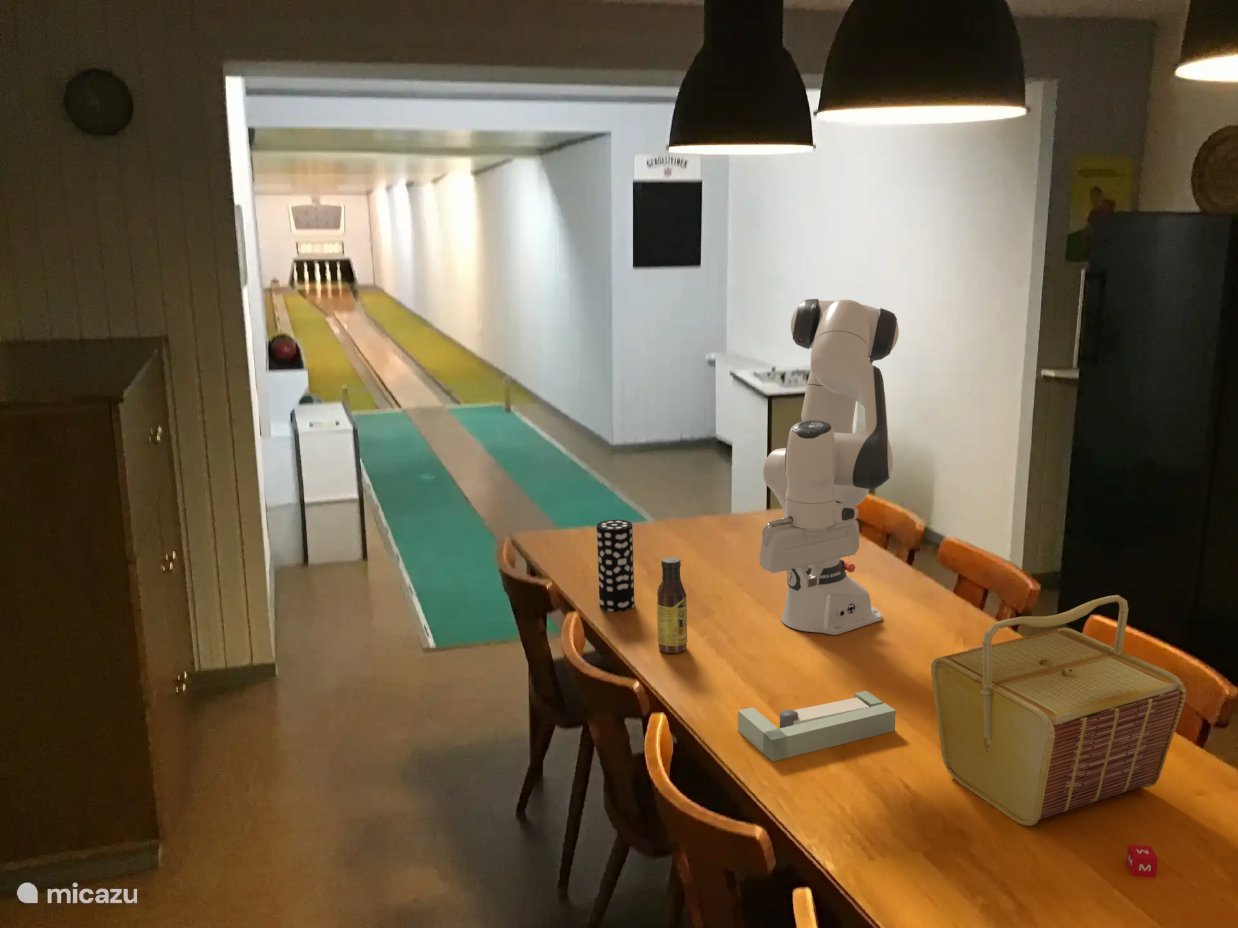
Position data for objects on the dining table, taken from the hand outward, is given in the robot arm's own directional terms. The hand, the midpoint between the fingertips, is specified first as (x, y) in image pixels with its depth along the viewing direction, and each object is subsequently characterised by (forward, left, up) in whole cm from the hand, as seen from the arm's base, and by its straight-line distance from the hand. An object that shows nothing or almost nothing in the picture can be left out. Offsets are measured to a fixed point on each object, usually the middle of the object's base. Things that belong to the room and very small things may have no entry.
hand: (809, 585), depth 193 cm
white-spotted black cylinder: (+12, -65, -24) cm, 70 cm away
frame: (+4, +8, -24) cm, 26 cm away
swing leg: (+2, +8, -24) cm, 26 cm away
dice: (-15, +62, -24) cm, 68 cm away
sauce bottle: (+11, -36, -24) cm, 45 cm away
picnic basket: (-20, +39, -24) cm, 50 cm away
